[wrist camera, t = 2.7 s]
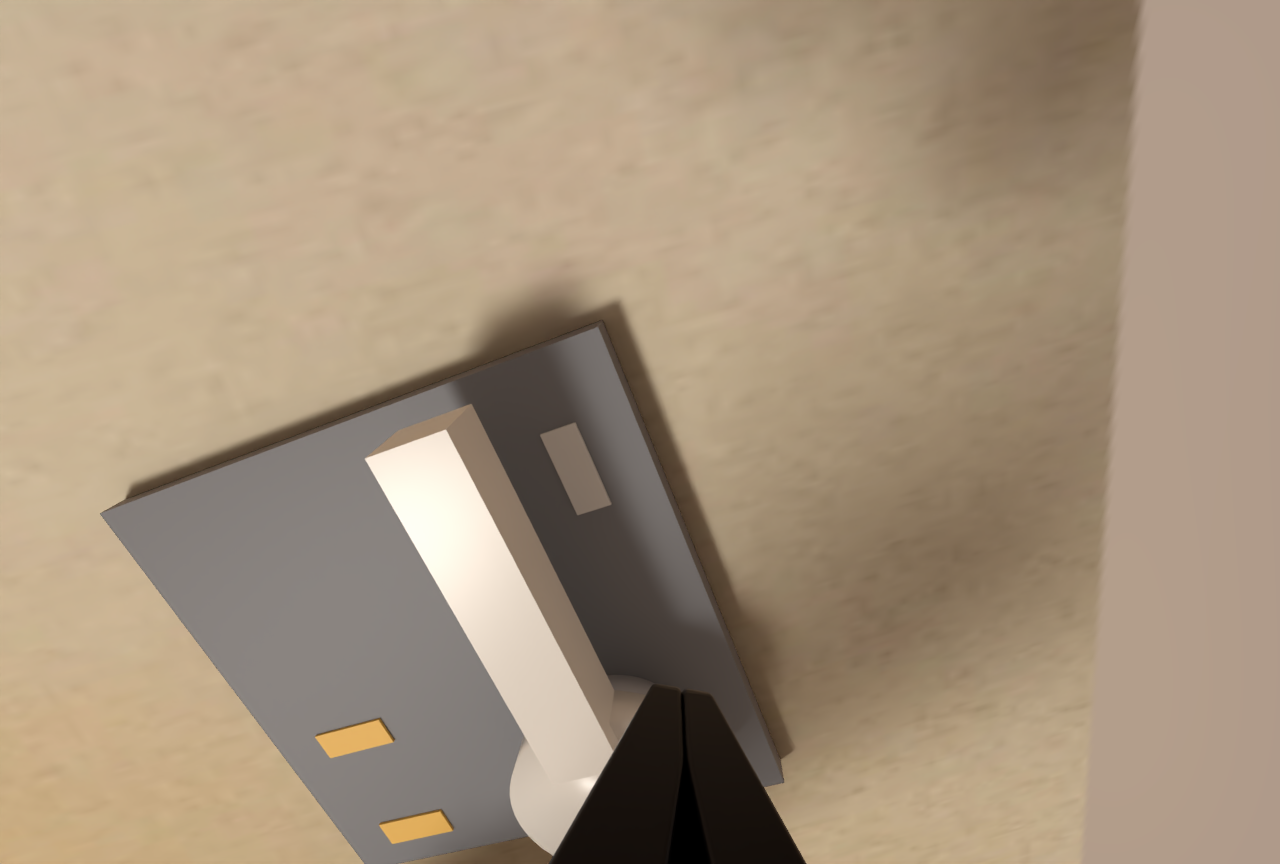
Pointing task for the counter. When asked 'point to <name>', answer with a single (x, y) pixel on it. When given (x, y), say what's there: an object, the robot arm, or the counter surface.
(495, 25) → the counter surface
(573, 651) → the lever switch
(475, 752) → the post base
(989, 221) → the counter surface
